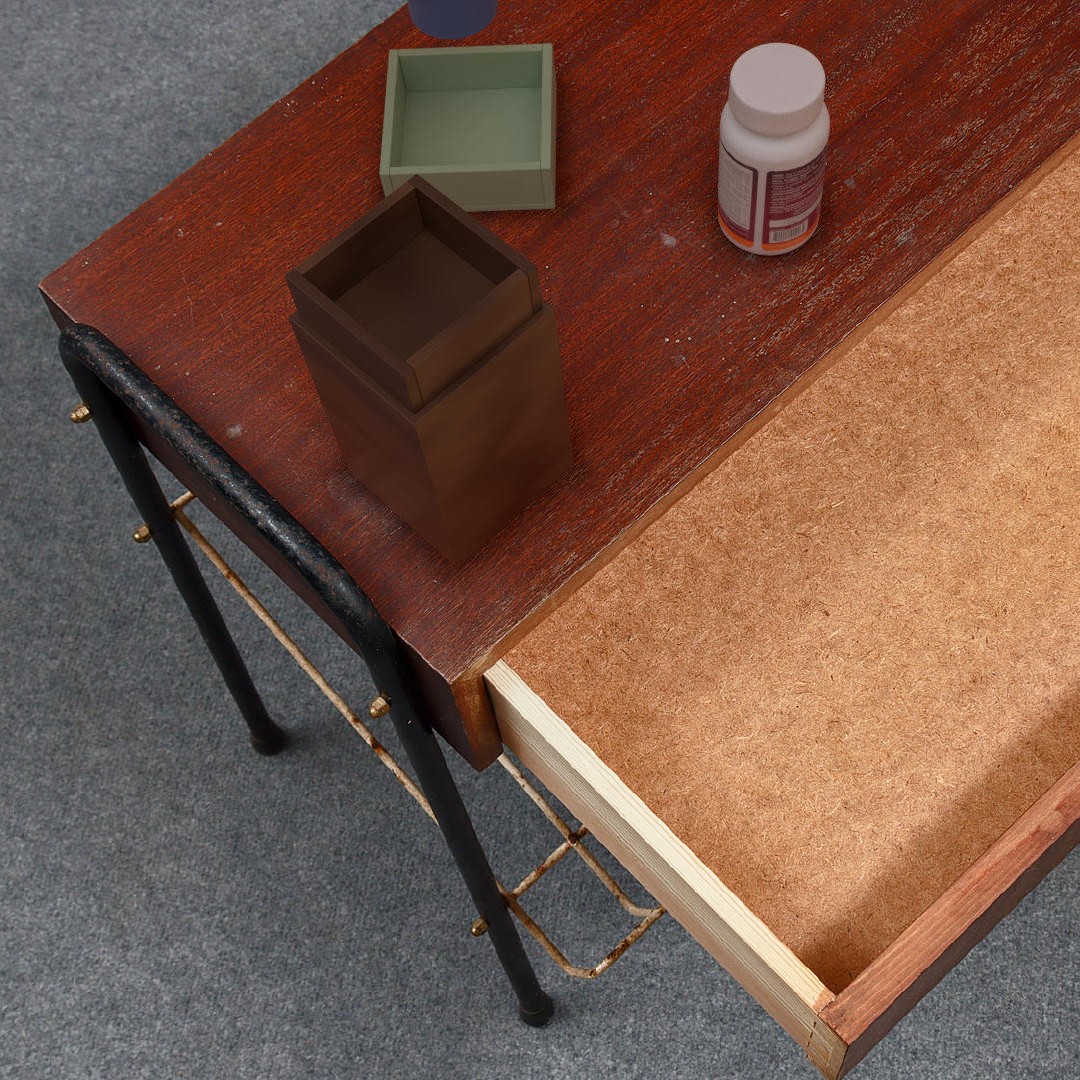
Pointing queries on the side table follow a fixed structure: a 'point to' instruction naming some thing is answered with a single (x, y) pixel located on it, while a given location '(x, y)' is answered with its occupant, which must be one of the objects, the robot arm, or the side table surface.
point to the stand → (435, 366)
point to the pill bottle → (773, 149)
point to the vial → (452, 16)
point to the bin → (473, 124)
